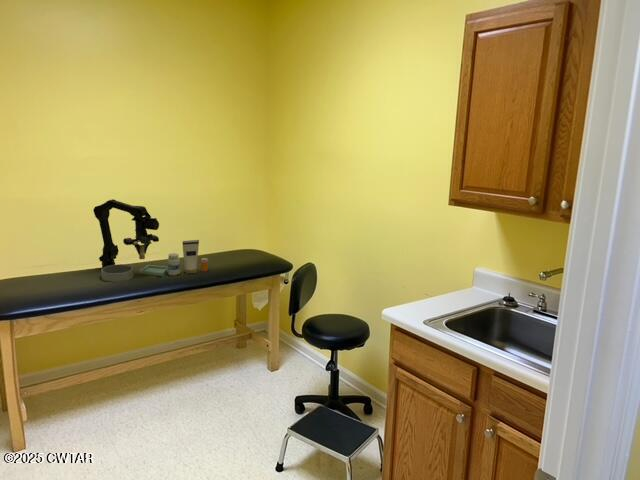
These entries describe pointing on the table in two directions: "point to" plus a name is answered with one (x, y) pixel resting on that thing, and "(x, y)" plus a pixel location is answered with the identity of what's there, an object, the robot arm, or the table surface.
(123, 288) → the table surface
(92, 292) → the table surface
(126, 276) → the translucent round bowl
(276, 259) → the table surface
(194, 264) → the toiletry set
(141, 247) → the dowel pin
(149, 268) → the tray
